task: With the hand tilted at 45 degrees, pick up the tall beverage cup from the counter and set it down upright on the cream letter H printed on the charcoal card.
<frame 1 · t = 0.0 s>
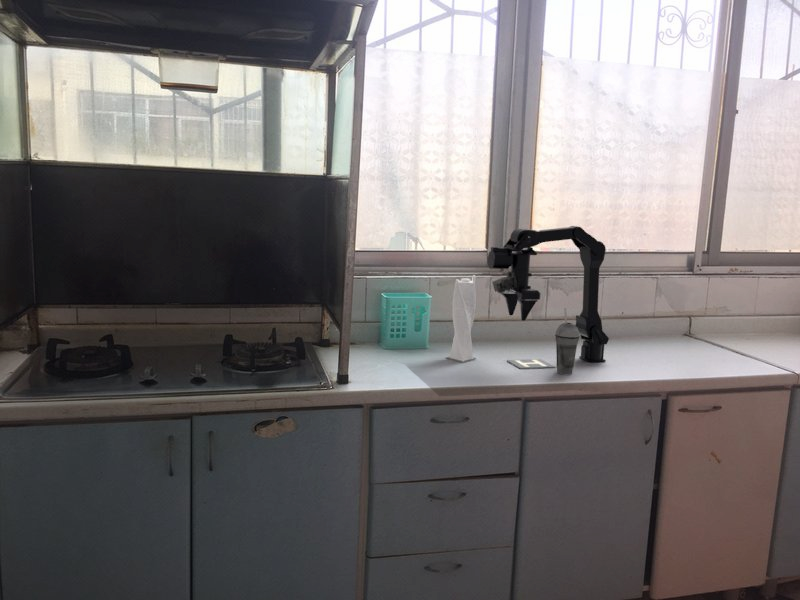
hand: (517, 317, 219), 15 cm above the countertop, tool pointing down, fingers open, 9 cm apart
letter card: (530, 364, 220), on the countertop
beverage cup: (564, 373, 211), on the countertop
skyscraper: (461, 360, 223), on the countertop
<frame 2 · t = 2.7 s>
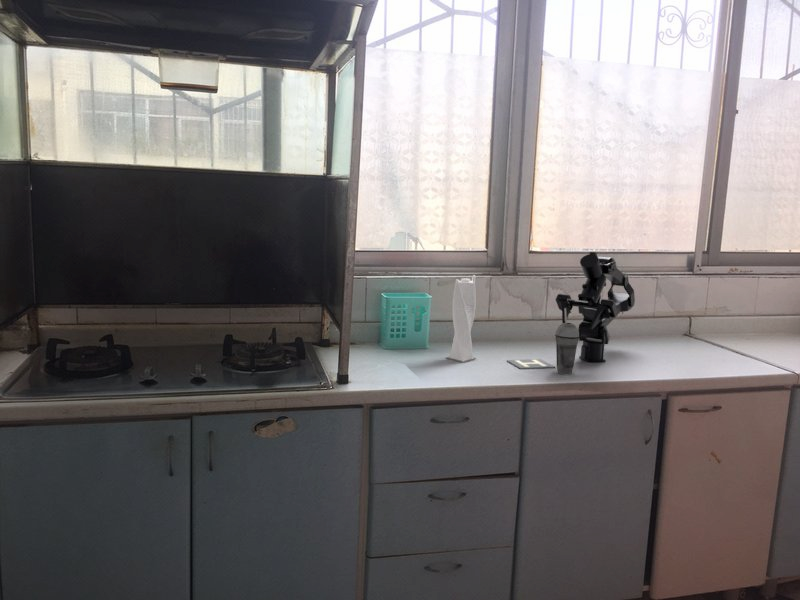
hand: (577, 326, 214), 14 cm above the countertop, tool tilted 45°, fingers open, 9 cm apart
nothing on the countertop moved.
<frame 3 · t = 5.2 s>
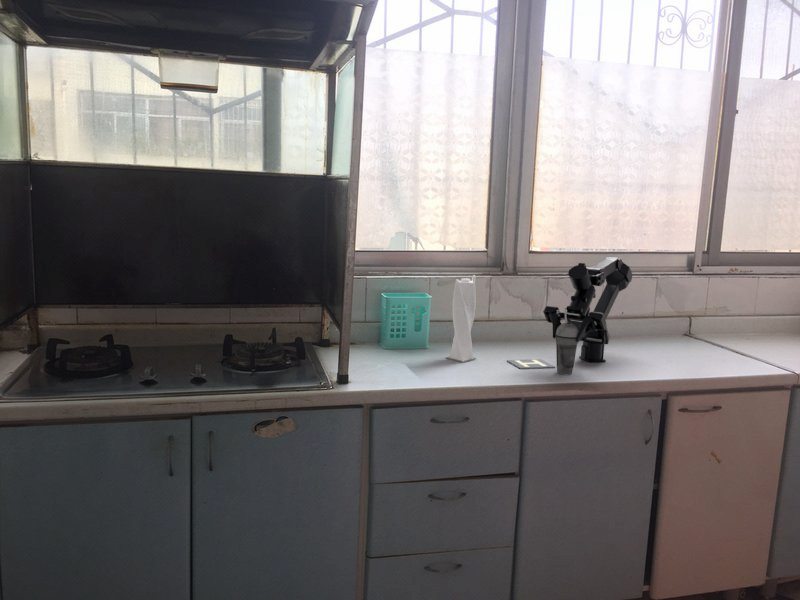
hand: (565, 339, 208), 11 cm above the countertop, tool tilted 45°, fingers closed on beverage cup, 7 cm apart
beverage cup: (564, 373, 211), on the countertop, touching gripper
everything else where it was.
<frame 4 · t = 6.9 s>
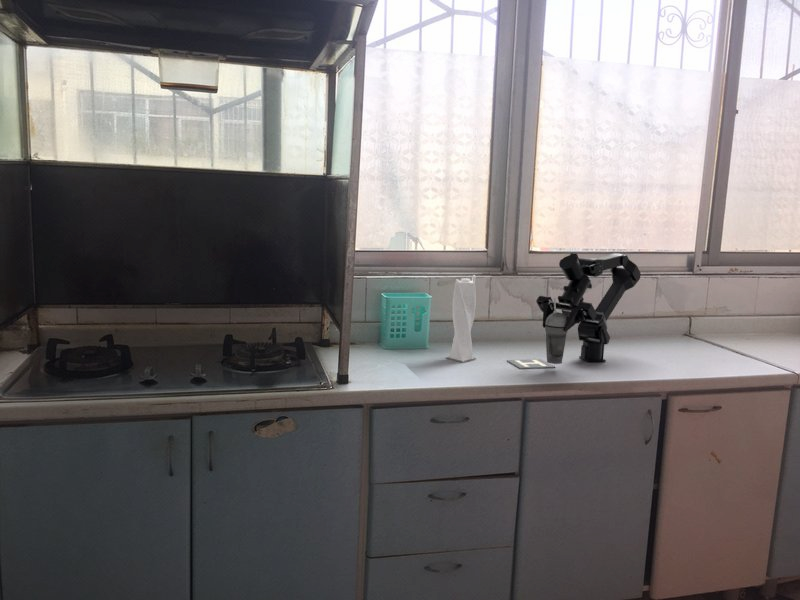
hand: (554, 328, 210), 13 cm above the countertop, tool tilted 45°, fingers closed on beverage cup, 7 cm apart
beverage cup: (554, 362, 212), point 2 cm above the countertop, touching gripper
everything else where it was.
when the fingers open (12 cm above the countertop, at t = 8.9 s): beverage cup stays where it is, resting on letter card.
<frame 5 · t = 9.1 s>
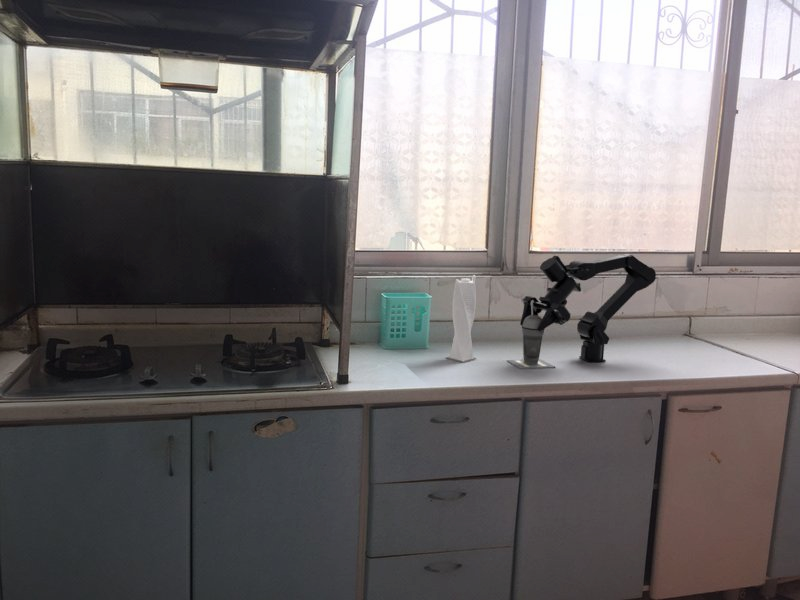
hand: (529, 327, 217), 12 cm above the countertop, tool tilted 45°, fingers open, 9 cm apart
beverage cup: (530, 363, 220), resting on letter card
everything else where it was.
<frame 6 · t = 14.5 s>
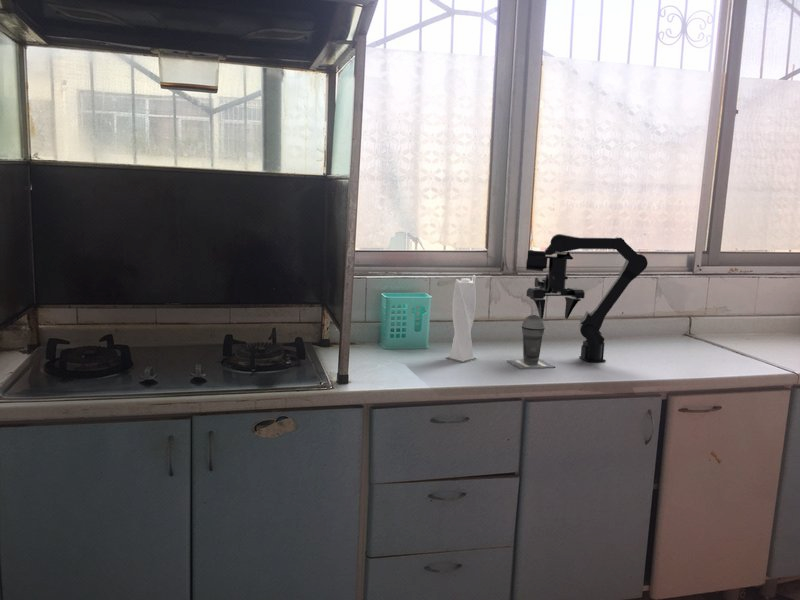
hand: (553, 318, 229), 13 cm above the countertop, tool pointing down, fingers open, 9 cm apart
nothing on the countertop moved.
at the end: beverage cup 0.0 cm from the letter card (horizontally); beverage cup tilted 0°; beverage cup touching letter card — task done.
